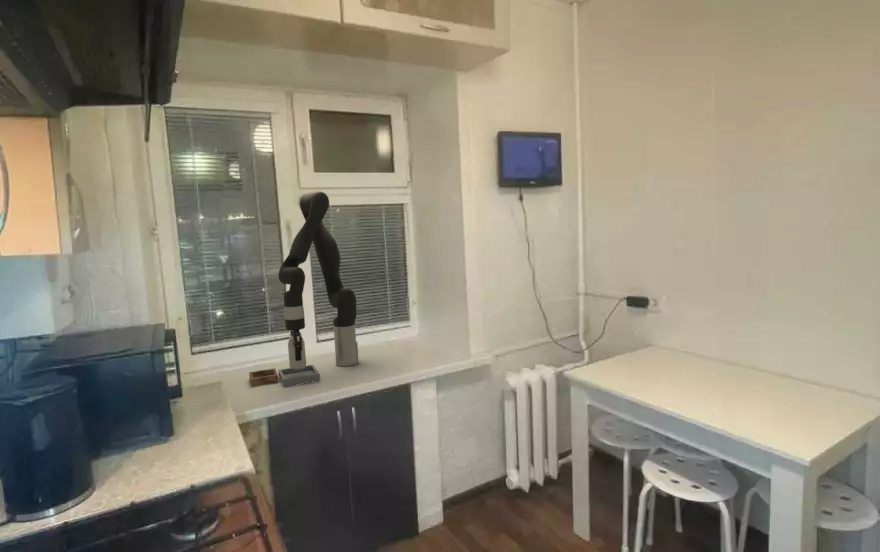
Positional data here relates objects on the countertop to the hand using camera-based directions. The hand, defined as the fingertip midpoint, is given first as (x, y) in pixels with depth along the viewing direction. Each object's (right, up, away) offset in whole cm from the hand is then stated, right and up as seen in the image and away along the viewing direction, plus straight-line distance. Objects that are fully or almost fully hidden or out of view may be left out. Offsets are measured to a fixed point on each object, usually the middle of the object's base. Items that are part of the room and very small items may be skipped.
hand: (297, 358), depth 204 cm
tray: (0, -8, +1) cm, 8 cm away
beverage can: (0, -4, +1) cm, 4 cm away
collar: (-13, -9, 0) cm, 16 cm away
